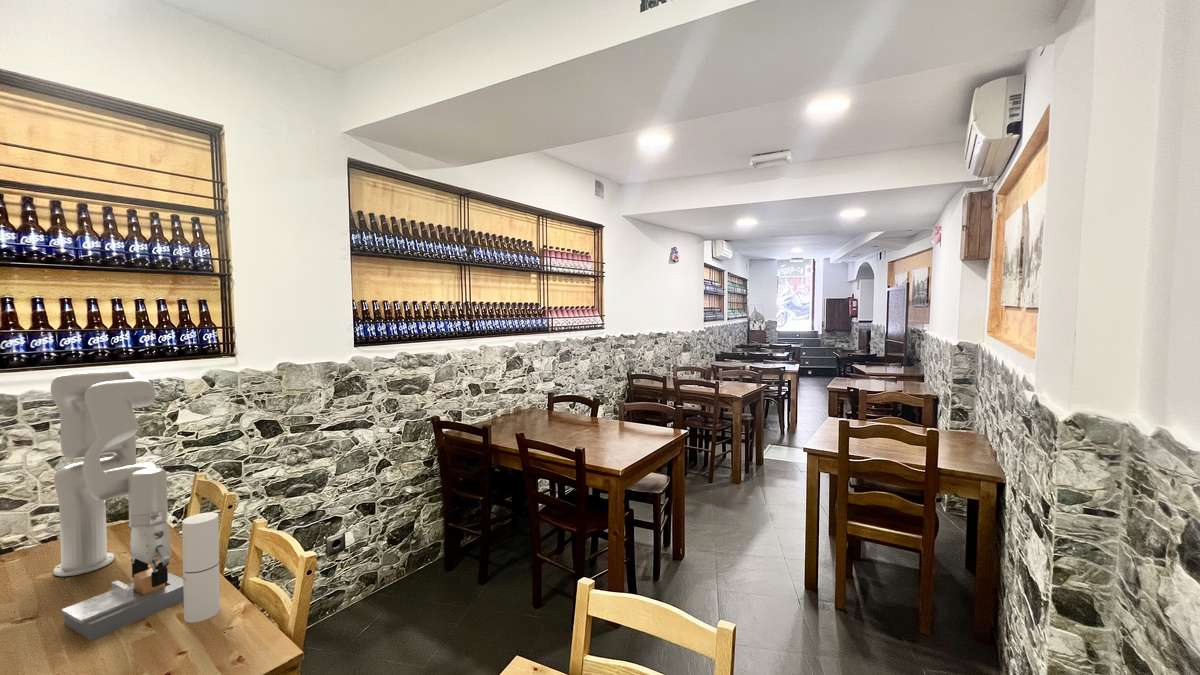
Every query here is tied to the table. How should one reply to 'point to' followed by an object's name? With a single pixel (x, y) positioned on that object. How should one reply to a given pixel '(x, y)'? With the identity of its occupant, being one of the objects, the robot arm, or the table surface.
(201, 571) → the cylindrical container
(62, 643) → the table surface
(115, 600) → the panel
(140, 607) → the socket block
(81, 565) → the robot arm
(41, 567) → the table surface
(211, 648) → the table surface
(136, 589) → the plug peg
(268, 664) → the table surface
